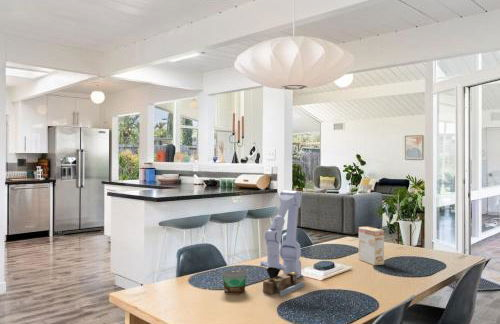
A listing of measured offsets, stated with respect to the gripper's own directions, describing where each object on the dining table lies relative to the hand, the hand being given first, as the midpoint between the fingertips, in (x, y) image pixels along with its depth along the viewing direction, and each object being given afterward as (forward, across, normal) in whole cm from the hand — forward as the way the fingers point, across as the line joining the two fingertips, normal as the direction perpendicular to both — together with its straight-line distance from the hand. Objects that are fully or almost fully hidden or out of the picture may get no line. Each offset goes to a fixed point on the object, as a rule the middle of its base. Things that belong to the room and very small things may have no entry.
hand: (273, 283), depth 204 cm
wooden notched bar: (+1, +4, 0) cm, 4 cm away
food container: (+2, -8, -18) cm, 20 cm away
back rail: (+1, +11, 0) cm, 11 cm away
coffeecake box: (+2, +16, +72) cm, 74 cm away
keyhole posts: (+1, +7, 0) cm, 7 cm away
